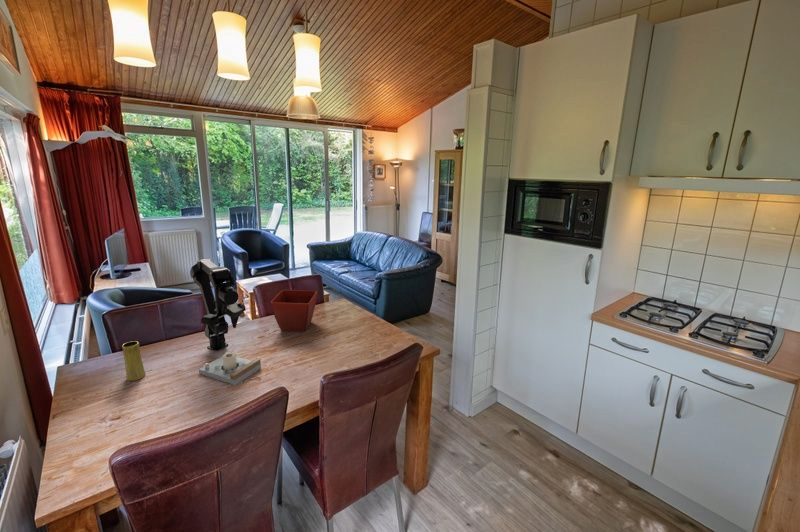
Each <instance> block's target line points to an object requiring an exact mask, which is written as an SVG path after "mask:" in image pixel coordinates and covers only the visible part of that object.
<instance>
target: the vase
mask: <svg viewBox="0 0 800 532" xmlns="http://www.w3.org/2000/svg"><path fill="white" fill-rule="evenodd" d="M121 347H122V353H123V357H124V359H123V360H124V365H125V372H126V373H125V374H126V375H125V376H126V380H127V381H128V382H129V381H130V382H135V381H139V380H140V379H142V378H144V377H145V376H146V371H145V367H144V363H143V360H142V354H141V349H140V343H139V341H138V340H133V341H132V340H131V341H127V342H125V343H123V344H122V345H121Z"/></svg>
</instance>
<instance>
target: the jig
mask: <svg viewBox="0 0 800 532" xmlns="http://www.w3.org/2000/svg"><path fill="white" fill-rule="evenodd" d="M226 353H230V352H229V351H226V352H224V354H226ZM236 362H237V368H236V369H234V370H229V371H225V370H224V368H223V359H222V356H220V357H218V358H217V359H215V360H213V361H211V362H206V363H204V366H202V367H200V368H198V373H199V374H200V375H202V376H206V377H208V378H211V379H215V380H218V381H222V382H225V383H228V384H231V385H233V386H235V385H237V384H238V383H240V382H242V381H243V380H245V379H246V378H248V377H249V376H251V375H252V374H255V372H257V371H258V370H260V369H261V368H262V365H261V364H262V363H261V362H262V361H261V359H260V358H257V357H256V358H255V359H253V360H249V359H245V358H242V357H239V356H236Z"/></svg>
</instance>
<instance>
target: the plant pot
mask: <svg viewBox="0 0 800 532" xmlns="http://www.w3.org/2000/svg"><path fill="white" fill-rule="evenodd" d="M317 296H318V291H317V290H301V289H299V290H298V289H282V290H281V291H279V293H278V294H276V296H275V297H274V298H273V299H272V300H271V301H270V306H271V309H272V313H273V316H274V319H275V321H276V323H277V325H278V328H279V329H280V331H283V332H284V331H285V332H287V331H288V332H306V330H307V329H308V328H309V326H310V324H311V322H312V320H313V316H314V312H315V309H316V308H315V307H316V303H317Z"/></svg>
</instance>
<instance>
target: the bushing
mask: <svg viewBox="0 0 800 532" xmlns="http://www.w3.org/2000/svg"><path fill="white" fill-rule="evenodd" d="M225 353H226V352H225ZM225 353H224V354H223V355H222V356H221V357H222V359H223V368H224V370H225V371H229V370H234V369H236V368H237V362H236V357H237V354H236V353H235V352H229V353H226V354H225Z"/></svg>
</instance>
